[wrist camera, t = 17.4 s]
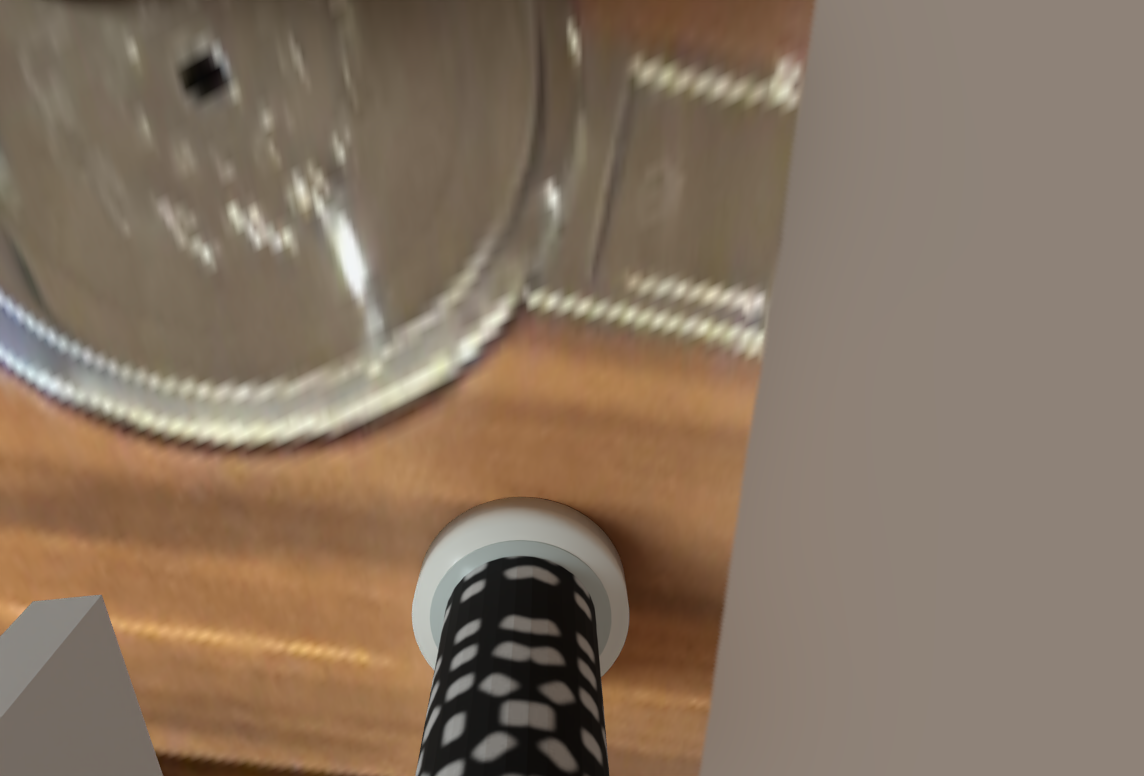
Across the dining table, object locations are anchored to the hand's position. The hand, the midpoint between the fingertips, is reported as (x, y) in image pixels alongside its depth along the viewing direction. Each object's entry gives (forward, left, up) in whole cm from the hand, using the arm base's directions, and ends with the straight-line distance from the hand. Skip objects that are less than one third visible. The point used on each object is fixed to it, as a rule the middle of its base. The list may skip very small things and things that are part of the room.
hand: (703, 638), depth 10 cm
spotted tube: (-6, -23, -34) cm, 41 cm away
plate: (-6, -23, -37) cm, 44 cm away
